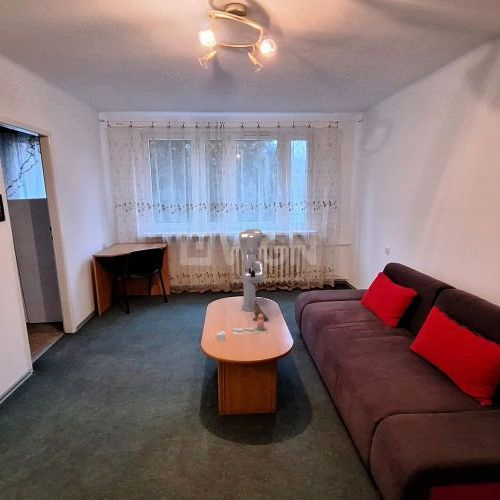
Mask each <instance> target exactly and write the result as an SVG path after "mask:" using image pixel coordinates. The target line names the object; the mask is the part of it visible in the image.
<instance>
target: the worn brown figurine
mask: <svg viewBox="0 0 500 500" xmlns="http://www.w3.org/2000/svg"><path fill="white" fill-rule="evenodd" d="M253 313H254V318H252V321H253V322H257V320H258V315H259V314H263V316H264V323H267V322H269V317H268V316H267V314H265V313H264V311H263V310H262V309H261V306H260V305H259V304H258V303H257V300H256V299H255V304H254V311H253Z"/></svg>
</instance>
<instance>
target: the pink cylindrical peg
mask: <svg viewBox="0 0 500 500" xmlns="http://www.w3.org/2000/svg"><path fill="white" fill-rule="evenodd" d="M256 322H257V326H256V327H257V330H258V331H263V330H264V327H265V324H264V323H265V322H264V316H263V314H259V315H258V320H257V321H256Z"/></svg>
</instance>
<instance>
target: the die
mask: <svg viewBox="0 0 500 500" xmlns="http://www.w3.org/2000/svg"><path fill="white" fill-rule="evenodd" d="M216 340H217V342H222V341H223V342H224V341H226V332H225V331H224V330H223V331H222V330H221V331H216Z"/></svg>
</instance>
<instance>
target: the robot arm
mask: <svg viewBox="0 0 500 500" xmlns="http://www.w3.org/2000/svg"><path fill="white" fill-rule="evenodd" d="M262 240H263V234H262V230H261V229H259V228H258V229H255V228H254V229H253V228H252V229H249V228H248V229H246V230H244V231H241V232H240V233H239V235H238V241H239V245H240V250H241V252H242V255H243V268H244V270H245V271H244V272H243V273H242V275H241V276H242V283H243V305H242V306H241V309H242V311H245V312H254V304H255V300H256V287H255V285H254V284H261V283H264V281H265V270H264V262H263V260H262V259H261V258H257V257H256V255H258V248H260V247H261V246H262Z"/></svg>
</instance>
